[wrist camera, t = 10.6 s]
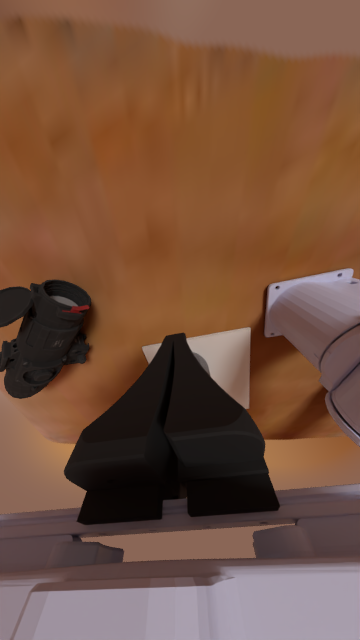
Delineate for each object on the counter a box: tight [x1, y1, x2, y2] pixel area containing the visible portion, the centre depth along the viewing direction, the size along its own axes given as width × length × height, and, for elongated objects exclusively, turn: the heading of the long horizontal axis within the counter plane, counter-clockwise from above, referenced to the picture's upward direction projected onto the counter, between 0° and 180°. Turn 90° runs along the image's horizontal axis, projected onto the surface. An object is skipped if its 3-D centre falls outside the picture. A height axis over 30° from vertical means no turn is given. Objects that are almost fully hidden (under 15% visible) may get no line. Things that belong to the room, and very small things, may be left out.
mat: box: [142, 327, 251, 409], centre depth 28 cm, size 16×20×1 cm
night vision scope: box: [0, 280, 91, 399], centre depth 18 cm, size 8×18×10 cm
